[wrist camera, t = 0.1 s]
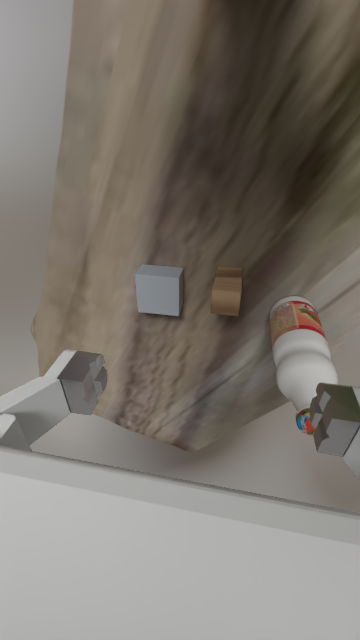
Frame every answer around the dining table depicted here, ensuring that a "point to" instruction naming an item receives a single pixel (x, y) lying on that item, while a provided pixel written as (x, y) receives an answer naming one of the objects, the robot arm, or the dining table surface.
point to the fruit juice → (300, 355)
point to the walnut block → (227, 291)
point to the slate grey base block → (159, 289)
